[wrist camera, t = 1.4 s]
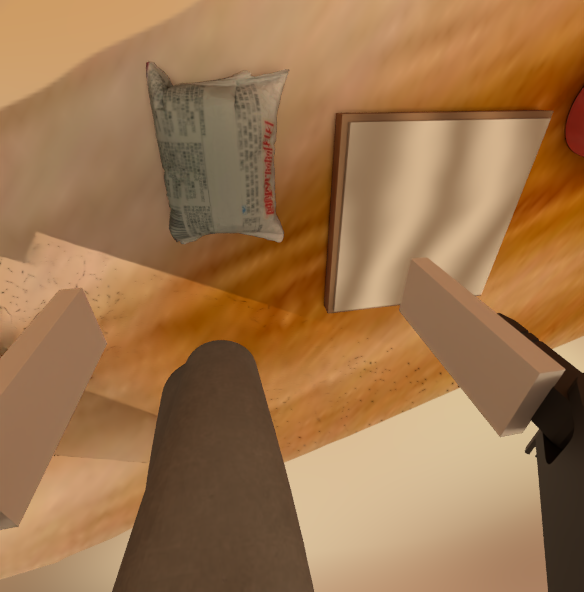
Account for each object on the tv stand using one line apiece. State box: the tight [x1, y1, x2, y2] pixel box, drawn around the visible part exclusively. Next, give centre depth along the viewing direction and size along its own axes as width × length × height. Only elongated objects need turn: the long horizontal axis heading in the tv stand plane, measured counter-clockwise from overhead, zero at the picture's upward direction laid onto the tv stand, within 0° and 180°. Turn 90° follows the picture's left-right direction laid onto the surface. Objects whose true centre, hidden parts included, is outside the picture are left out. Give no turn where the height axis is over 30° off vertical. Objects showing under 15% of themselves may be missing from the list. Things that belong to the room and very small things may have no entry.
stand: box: [324, 110, 553, 313], centre depth 29 cm, size 18×18×2 cm
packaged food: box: [146, 62, 290, 244], centre depth 22 cm, size 9×12×5 cm
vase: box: [112, 340, 314, 592], centre depth 23 cm, size 12×12×30 cm
